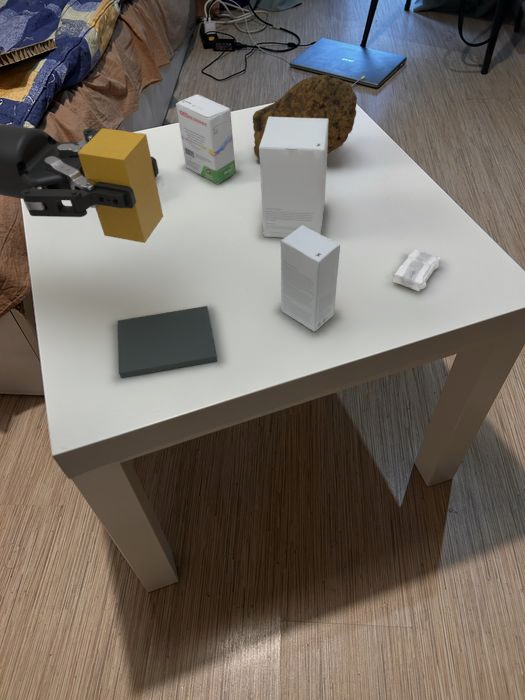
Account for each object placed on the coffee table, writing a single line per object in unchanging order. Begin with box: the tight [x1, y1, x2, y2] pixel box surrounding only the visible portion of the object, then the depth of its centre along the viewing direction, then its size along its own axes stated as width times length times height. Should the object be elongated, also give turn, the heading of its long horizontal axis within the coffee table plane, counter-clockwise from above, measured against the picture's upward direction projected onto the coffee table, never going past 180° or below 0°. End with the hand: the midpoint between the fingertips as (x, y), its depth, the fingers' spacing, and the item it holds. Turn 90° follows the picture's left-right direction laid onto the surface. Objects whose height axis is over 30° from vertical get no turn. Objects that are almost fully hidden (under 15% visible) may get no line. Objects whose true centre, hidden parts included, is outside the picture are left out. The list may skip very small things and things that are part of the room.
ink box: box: [175, 93, 237, 185], centre depth 89 cm, size 8×5×12 cm, turn 47°
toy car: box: [392, 248, 441, 292], centre depth 74 cm, size 5×8×2 cm, turn 147°
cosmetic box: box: [280, 225, 341, 333], centre depth 66 cm, size 6×4×12 cm
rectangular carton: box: [259, 117, 328, 239], centre depth 77 cm, size 9×9×15 cm
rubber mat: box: [117, 305, 218, 379], centre depth 67 cm, size 12×9×1 cm
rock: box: [252, 74, 358, 160], centre depth 92 cm, size 13×12×20 cm
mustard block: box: [78, 127, 164, 244], centre depth 56 cm, size 5×5×10 cm
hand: (144, 182), depth 54 cm, fingers closed on mustard block, 5 cm apart
